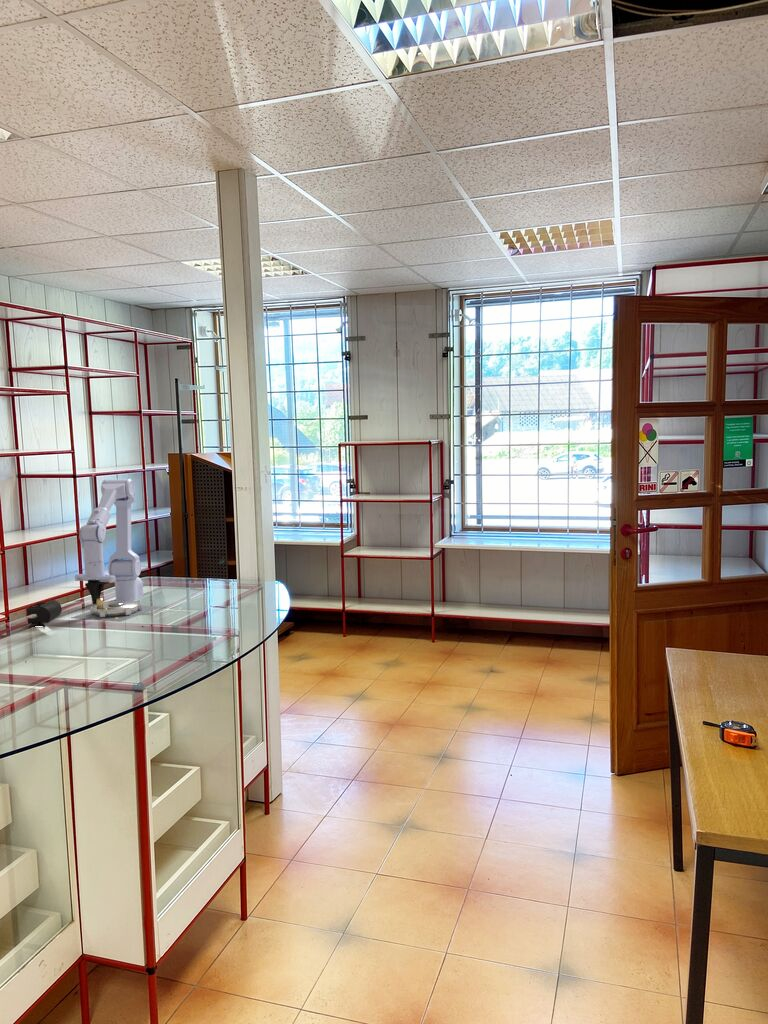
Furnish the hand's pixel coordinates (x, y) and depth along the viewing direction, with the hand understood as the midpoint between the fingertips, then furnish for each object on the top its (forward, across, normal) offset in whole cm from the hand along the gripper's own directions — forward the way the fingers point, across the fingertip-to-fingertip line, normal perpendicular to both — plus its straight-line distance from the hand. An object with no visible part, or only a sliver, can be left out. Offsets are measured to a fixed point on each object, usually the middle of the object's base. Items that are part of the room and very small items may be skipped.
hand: (96, 603), depth 233 cm
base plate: (+5, +4, +5) cm, 8 cm away
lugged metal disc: (+4, +4, +5) cm, 7 cm away
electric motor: (+6, -13, -8) cm, 17 cm away
